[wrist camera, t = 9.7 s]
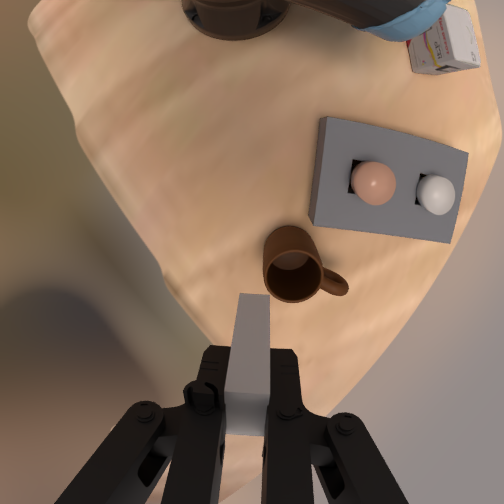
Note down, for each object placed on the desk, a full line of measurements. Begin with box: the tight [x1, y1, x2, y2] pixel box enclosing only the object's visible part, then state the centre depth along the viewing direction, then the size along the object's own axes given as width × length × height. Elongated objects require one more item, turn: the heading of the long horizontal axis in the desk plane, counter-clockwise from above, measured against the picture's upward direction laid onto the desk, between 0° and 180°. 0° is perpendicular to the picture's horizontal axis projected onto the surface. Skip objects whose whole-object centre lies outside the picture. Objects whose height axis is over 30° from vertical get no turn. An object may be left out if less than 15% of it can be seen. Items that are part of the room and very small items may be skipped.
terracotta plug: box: [350, 161, 396, 205], centre depth 35 cm, size 5×5×8 cm
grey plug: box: [416, 174, 455, 215], centre depth 36 cm, size 5×5×8 cm
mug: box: [263, 226, 349, 303], centre depth 40 cm, size 12×8×9 cm, turn 70°
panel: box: [308, 117, 469, 244], centre depth 37 cm, size 14×22×5 cm, turn 85°
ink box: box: [407, 4, 481, 75], centre depth 26 cm, size 9×5×12 cm, turn 7°
